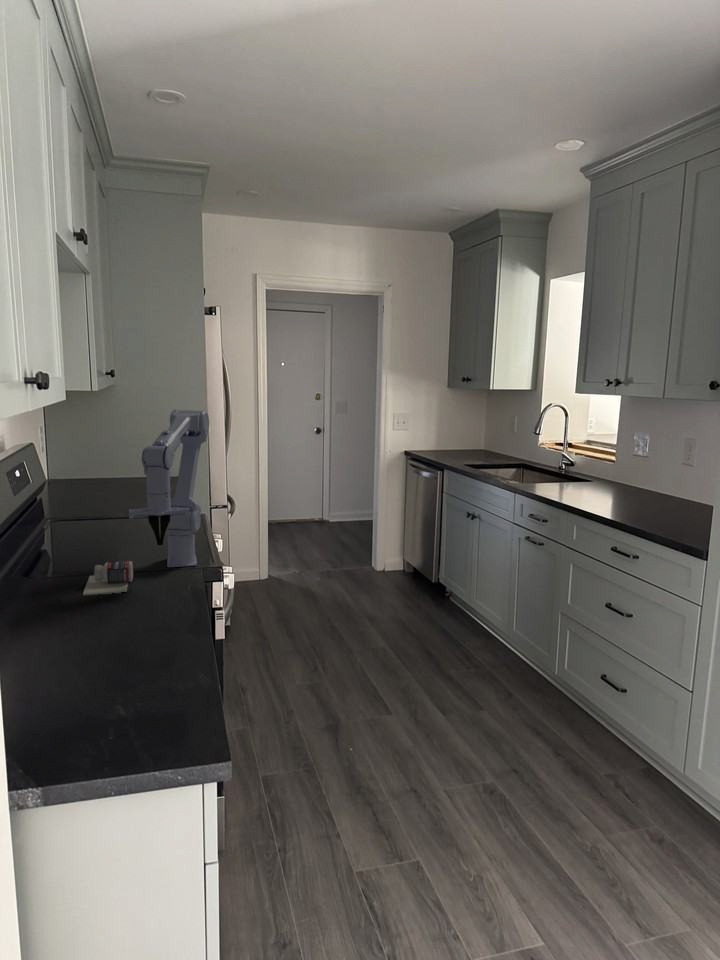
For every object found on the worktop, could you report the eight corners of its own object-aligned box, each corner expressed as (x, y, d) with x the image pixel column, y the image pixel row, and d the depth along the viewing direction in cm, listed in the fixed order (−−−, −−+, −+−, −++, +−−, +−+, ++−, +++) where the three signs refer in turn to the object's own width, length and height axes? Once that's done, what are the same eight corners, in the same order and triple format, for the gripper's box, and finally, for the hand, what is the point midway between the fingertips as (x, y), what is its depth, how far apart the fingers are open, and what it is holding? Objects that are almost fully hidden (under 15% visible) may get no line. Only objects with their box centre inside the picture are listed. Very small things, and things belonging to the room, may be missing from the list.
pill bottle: (131, 565, 164) (93, 567, 161) (132, 584, 165) (94, 587, 163) (132, 558, 169) (96, 559, 166) (133, 576, 170) (97, 578, 168)
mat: (89, 577, 170) (89, 575, 170) (130, 574, 173) (129, 573, 173) (82, 595, 157) (82, 594, 157) (126, 592, 160) (126, 591, 160)
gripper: (127, 496, 159) (129, 549, 162) (188, 494, 163) (189, 546, 166) (129, 490, 166) (131, 542, 168) (187, 489, 170) (188, 539, 172)
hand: (160, 544), depth 167 cm, fingers closed
